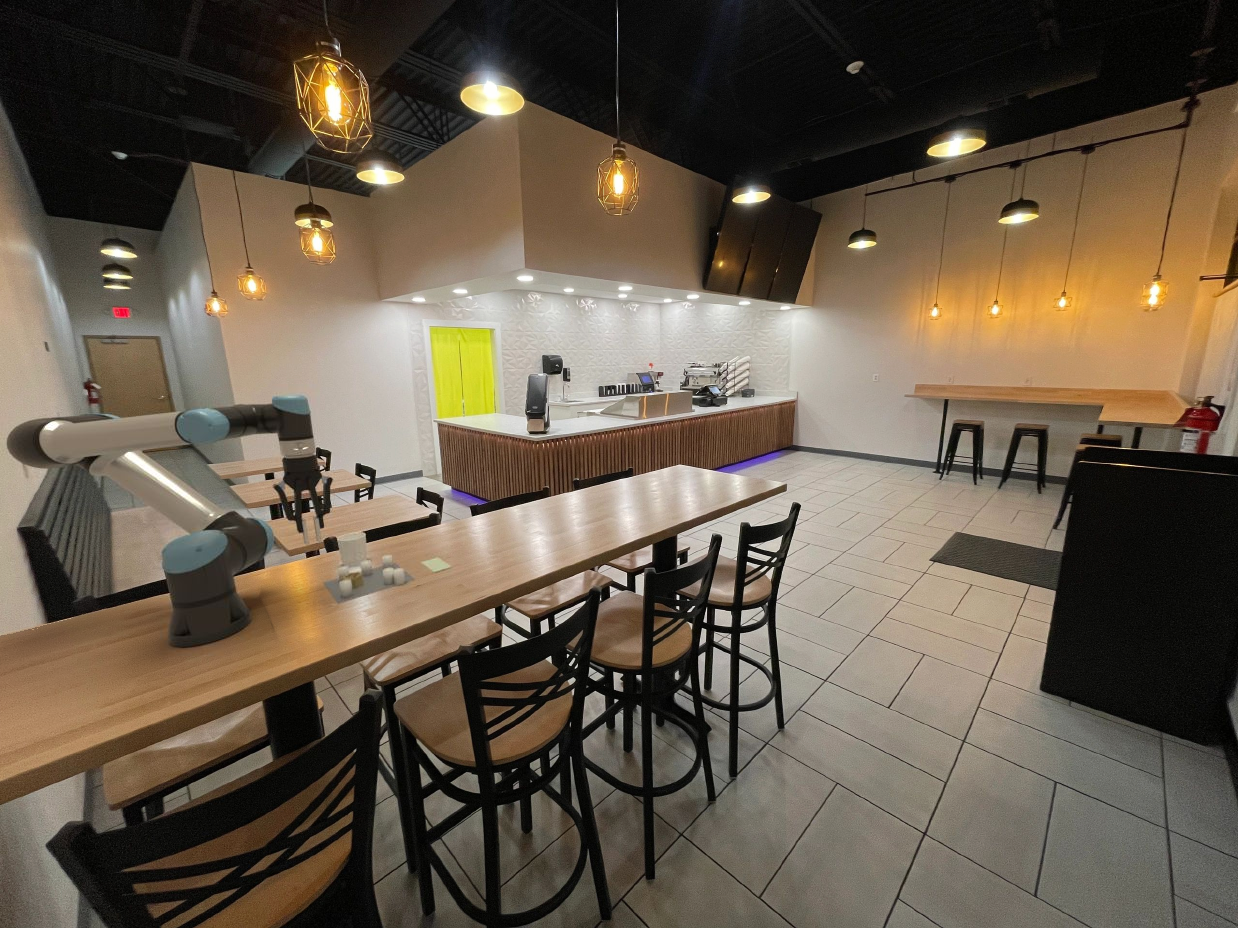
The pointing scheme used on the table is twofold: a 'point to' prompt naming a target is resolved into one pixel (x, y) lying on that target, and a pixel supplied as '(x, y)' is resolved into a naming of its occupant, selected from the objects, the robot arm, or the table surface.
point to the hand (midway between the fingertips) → (313, 541)
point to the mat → (436, 564)
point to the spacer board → (368, 580)
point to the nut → (354, 579)
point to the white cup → (352, 548)
